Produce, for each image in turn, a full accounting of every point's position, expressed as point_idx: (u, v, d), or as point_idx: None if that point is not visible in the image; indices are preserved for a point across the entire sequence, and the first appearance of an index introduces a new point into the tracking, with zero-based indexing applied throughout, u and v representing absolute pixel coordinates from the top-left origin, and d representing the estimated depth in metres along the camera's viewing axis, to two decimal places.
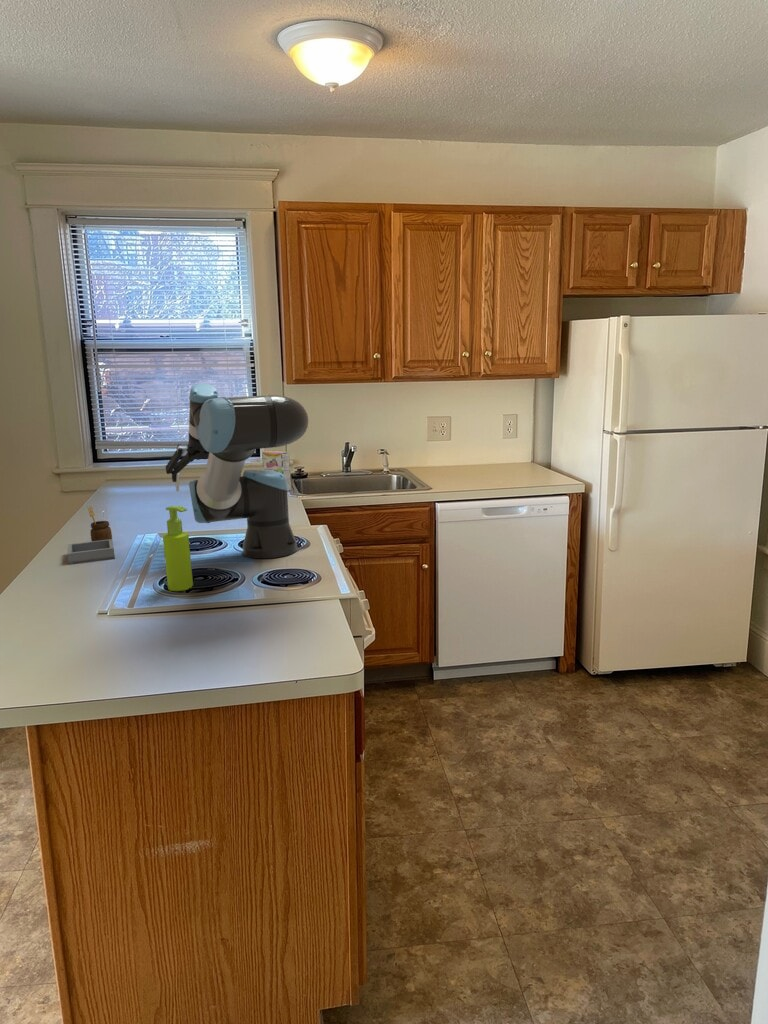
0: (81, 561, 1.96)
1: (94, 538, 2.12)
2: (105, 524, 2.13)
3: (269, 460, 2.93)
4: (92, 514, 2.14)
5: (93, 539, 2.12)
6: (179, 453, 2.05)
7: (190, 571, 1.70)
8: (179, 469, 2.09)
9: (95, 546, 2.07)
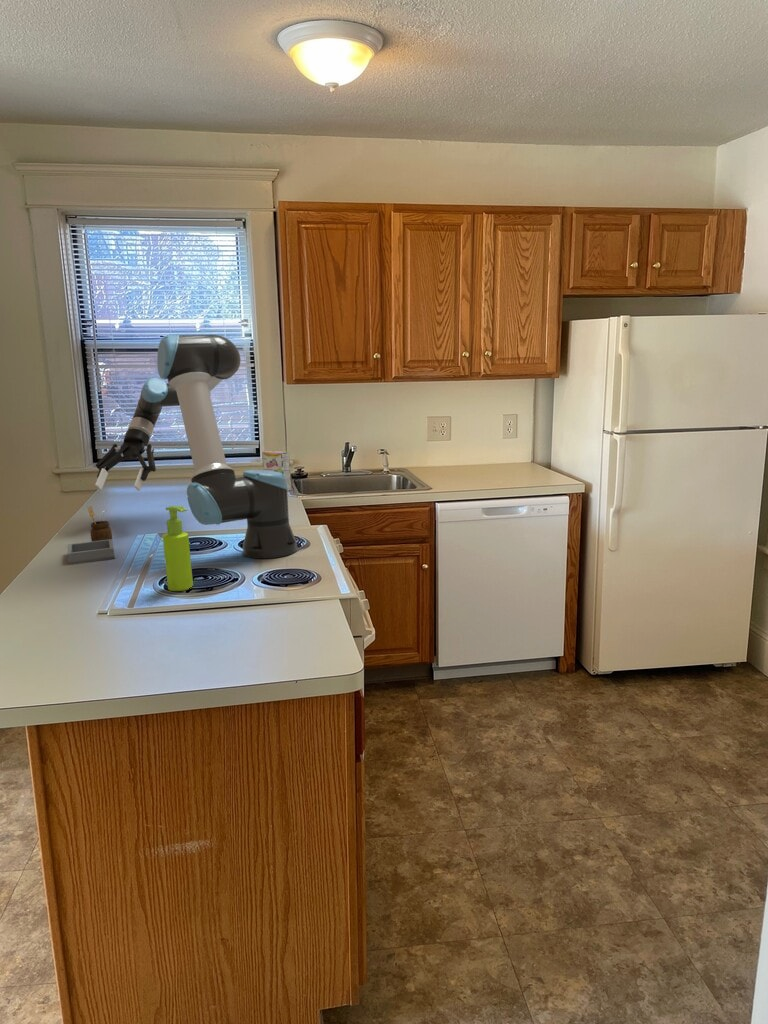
0: (81, 561, 1.96)
1: (94, 538, 2.12)
2: (105, 524, 2.13)
3: (269, 460, 2.93)
4: (92, 514, 2.14)
5: (93, 539, 2.12)
6: (113, 447, 2.30)
7: (190, 571, 1.70)
8: (106, 462, 2.27)
9: (95, 546, 2.07)
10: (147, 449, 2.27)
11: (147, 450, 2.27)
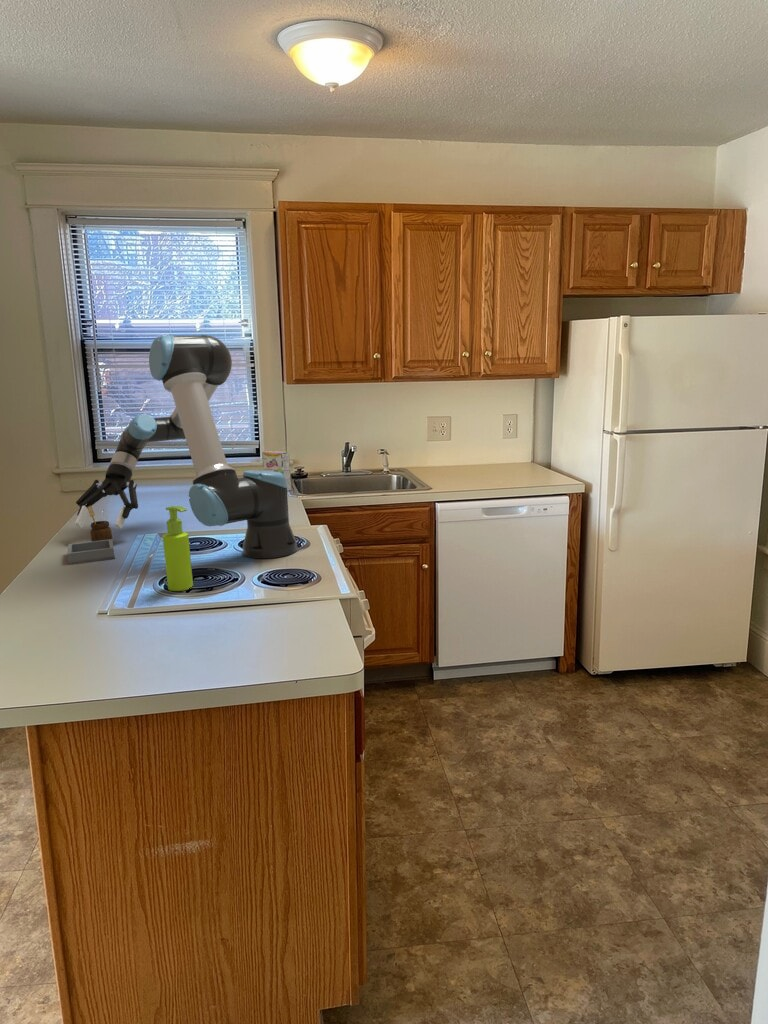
0: (81, 561, 1.96)
1: (94, 538, 2.12)
2: (105, 524, 2.13)
3: (269, 460, 2.93)
4: (92, 514, 2.14)
5: (93, 539, 2.12)
6: (94, 483, 2.22)
7: (190, 571, 1.70)
8: (87, 499, 2.19)
9: (95, 546, 2.07)
10: (129, 485, 2.19)
11: (129, 486, 2.19)
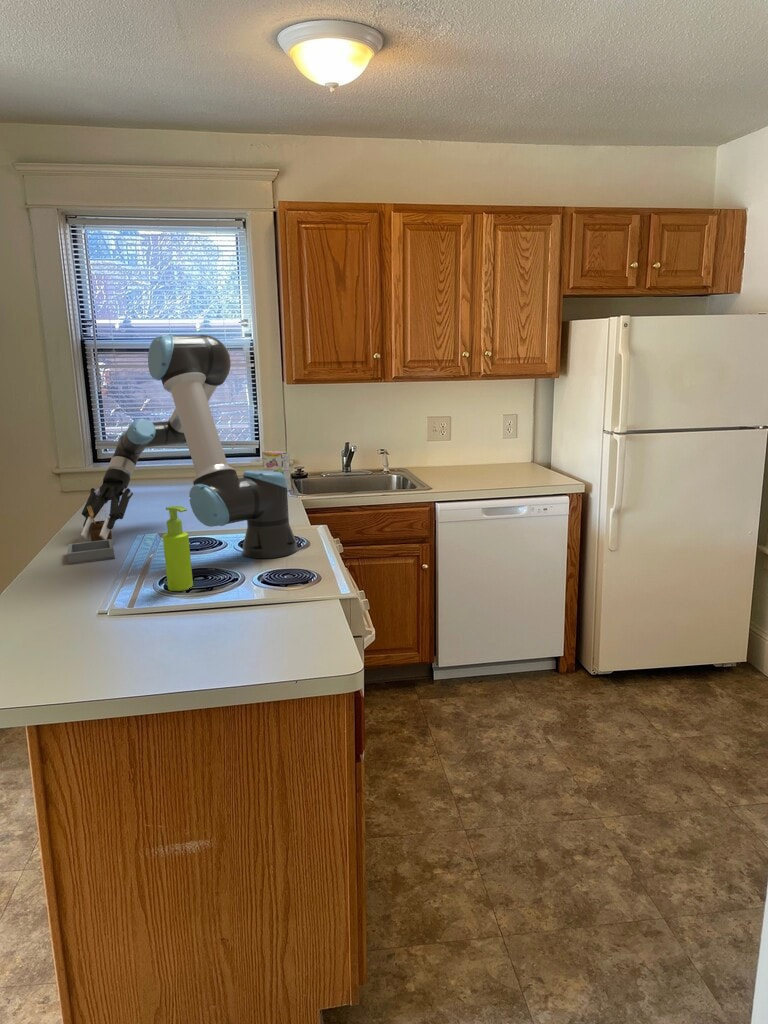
0: (81, 561, 1.96)
1: (94, 538, 2.12)
2: None
3: (269, 460, 2.93)
4: (91, 514, 2.14)
5: (93, 539, 2.12)
6: (91, 491, 2.19)
7: (190, 571, 1.70)
8: None
9: (95, 546, 2.07)
10: (124, 493, 2.17)
11: (123, 494, 2.17)
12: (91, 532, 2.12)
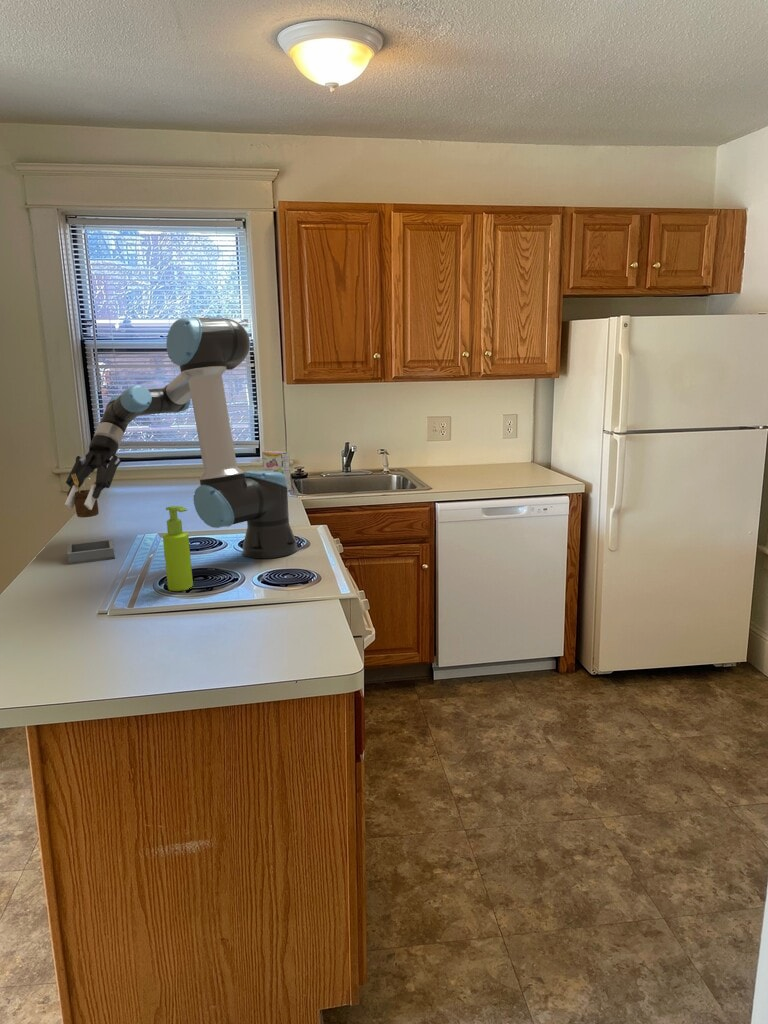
0: (81, 561, 1.96)
1: (79, 508, 1.98)
2: None
3: (269, 460, 2.93)
4: (76, 482, 2.00)
5: (77, 509, 1.98)
6: (77, 460, 2.06)
7: (190, 571, 1.70)
8: None
9: (95, 546, 2.07)
10: (111, 461, 2.03)
11: (110, 462, 2.03)
12: (76, 502, 1.98)
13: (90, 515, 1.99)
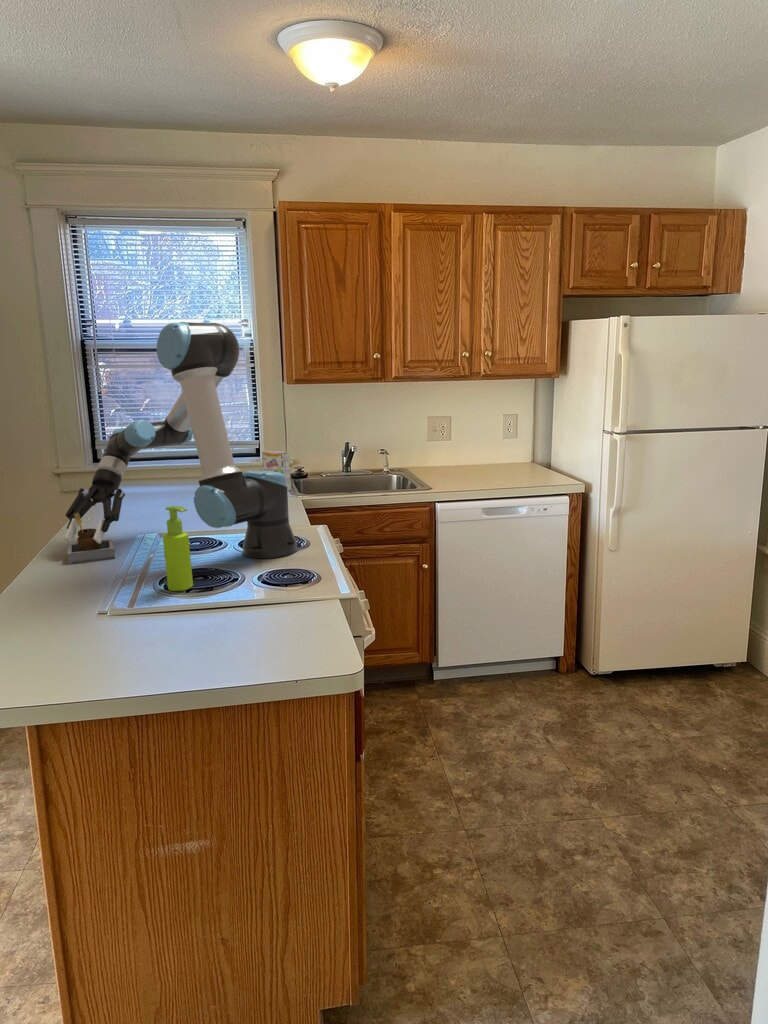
0: (81, 561, 1.96)
1: (81, 547, 1.99)
2: (93, 532, 2.00)
3: (269, 460, 2.93)
4: (79, 521, 2.01)
5: (80, 548, 1.99)
6: (80, 492, 2.07)
7: (190, 571, 1.70)
8: (77, 511, 2.03)
9: None
10: (116, 494, 2.04)
11: (115, 495, 2.03)
12: (78, 541, 1.99)
13: None
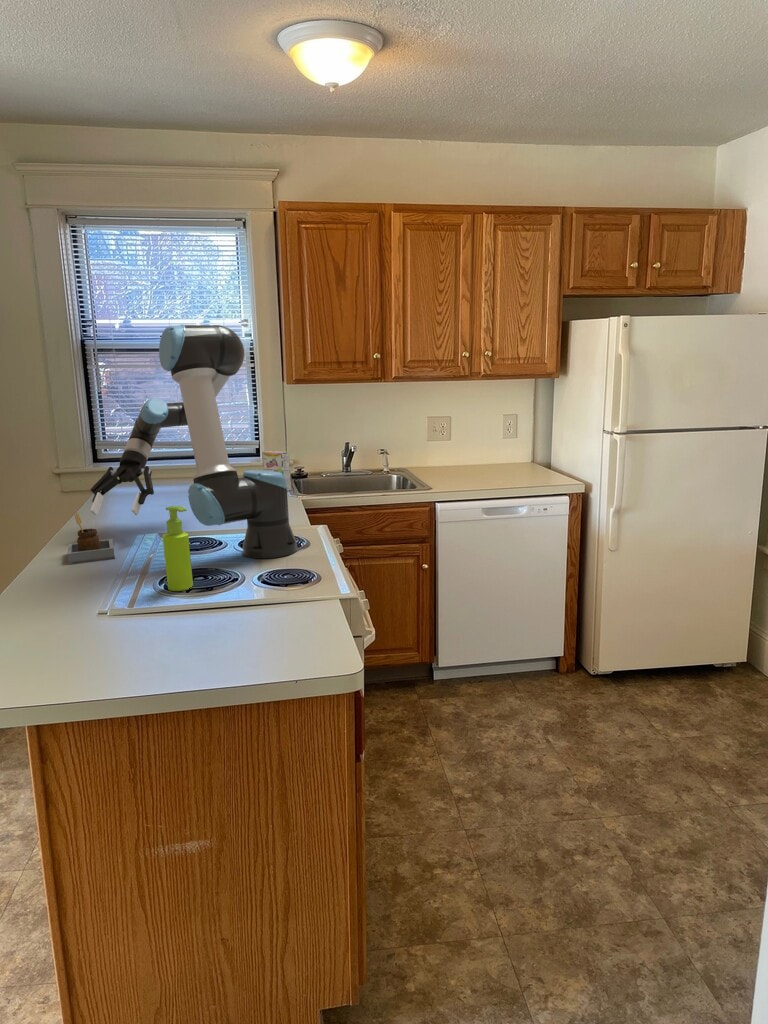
0: (81, 561, 1.96)
1: (81, 547, 1.99)
2: (93, 532, 2.00)
3: (269, 460, 2.93)
4: (79, 521, 2.01)
5: (80, 548, 1.99)
6: (108, 470, 2.20)
7: (190, 571, 1.70)
8: (102, 486, 2.16)
9: None
10: (144, 471, 2.17)
11: (144, 472, 2.16)
12: (78, 541, 1.99)
13: None
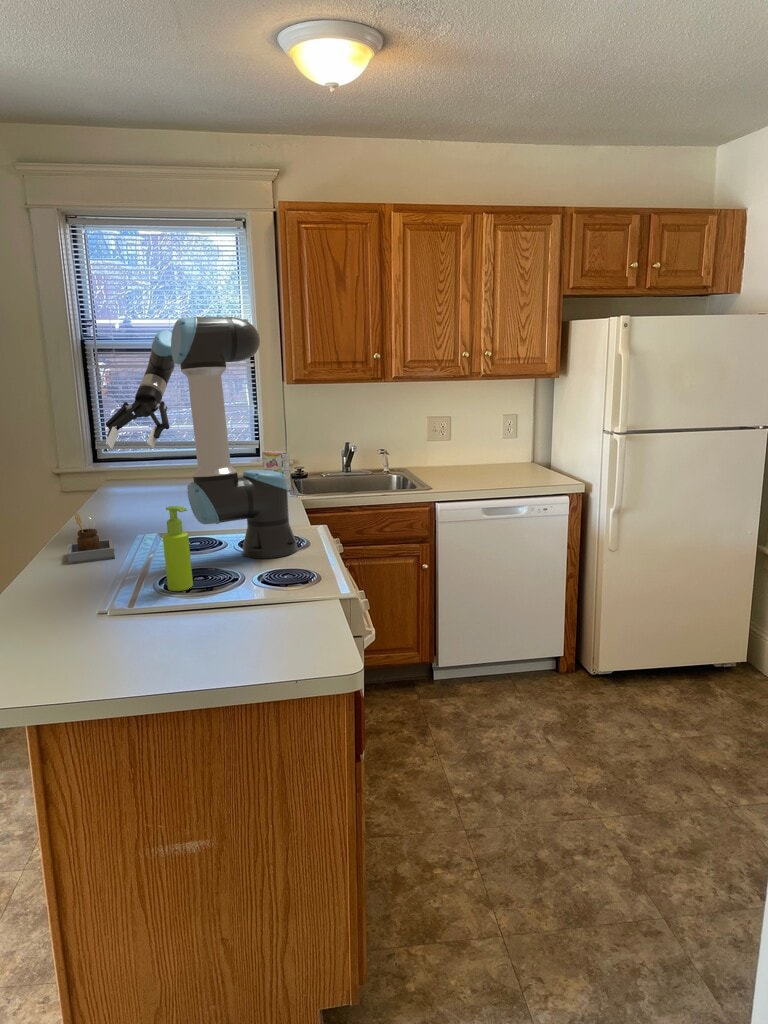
0: (81, 561, 1.96)
1: (81, 547, 1.99)
2: (93, 532, 2.00)
3: (269, 460, 2.93)
4: (79, 521, 2.01)
5: (80, 548, 1.99)
6: (123, 405, 2.18)
7: (190, 571, 1.70)
8: (117, 421, 2.14)
9: None
10: (160, 406, 2.15)
11: (160, 407, 2.14)
12: (78, 541, 1.99)
13: None
